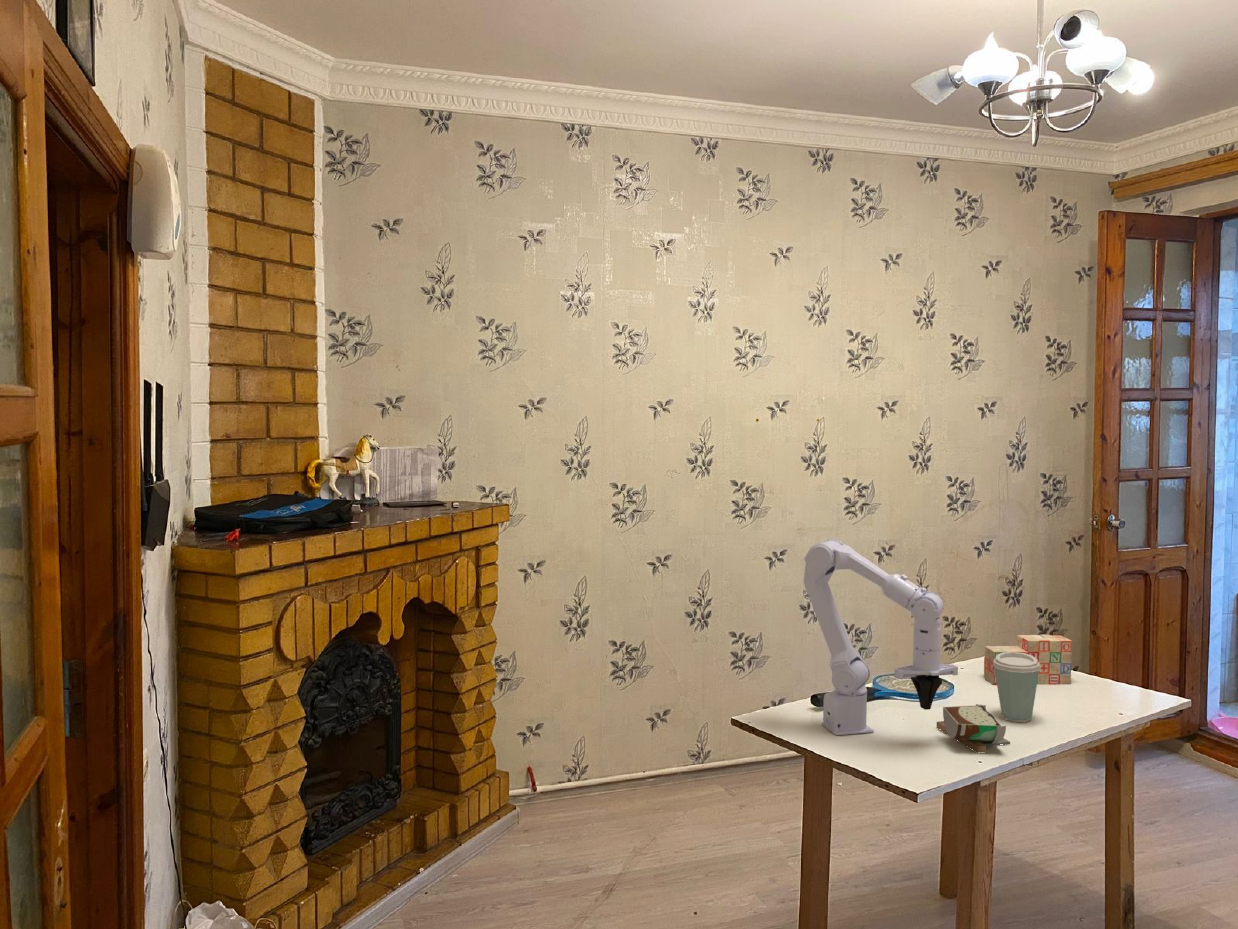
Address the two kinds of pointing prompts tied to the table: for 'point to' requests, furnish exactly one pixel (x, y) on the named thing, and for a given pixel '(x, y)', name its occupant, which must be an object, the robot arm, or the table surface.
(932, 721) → the table surface
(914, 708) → the table surface
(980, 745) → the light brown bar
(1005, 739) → the rubber mat
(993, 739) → the food container
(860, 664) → the robot arm
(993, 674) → the stack of blocks
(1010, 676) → the disposable coffee cup
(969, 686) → the table surface
